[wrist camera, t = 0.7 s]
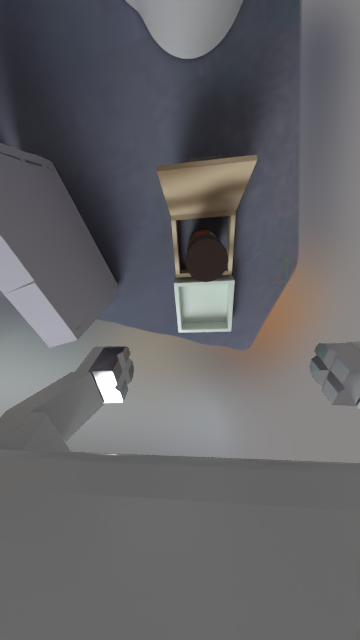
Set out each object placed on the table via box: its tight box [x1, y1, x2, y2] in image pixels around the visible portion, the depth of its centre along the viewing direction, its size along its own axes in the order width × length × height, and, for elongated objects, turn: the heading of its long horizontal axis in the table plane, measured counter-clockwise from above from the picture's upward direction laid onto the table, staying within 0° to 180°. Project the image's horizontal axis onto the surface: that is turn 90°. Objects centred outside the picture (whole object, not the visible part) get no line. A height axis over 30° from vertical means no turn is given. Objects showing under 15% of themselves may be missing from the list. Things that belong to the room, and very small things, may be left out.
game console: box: [0, 143, 118, 348], centre depth 32 cm, size 6×27×20 cm, turn 19°
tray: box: [174, 275, 235, 333], centre depth 44 cm, size 13×13×4 cm
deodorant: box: [185, 229, 228, 282], centre depth 33 cm, size 6×6×15 cm
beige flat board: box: [157, 155, 257, 216], centre depth 28 cm, size 12×12×1 cm
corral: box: [171, 210, 236, 278], centre depth 38 cm, size 12×12×3 cm
